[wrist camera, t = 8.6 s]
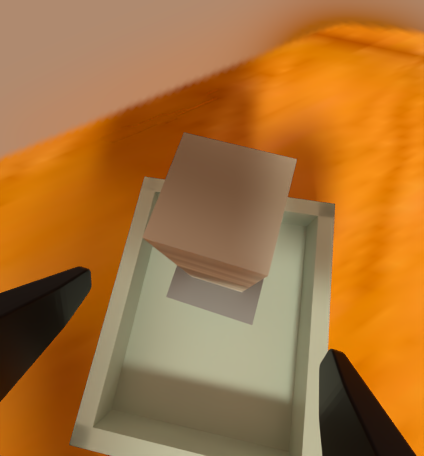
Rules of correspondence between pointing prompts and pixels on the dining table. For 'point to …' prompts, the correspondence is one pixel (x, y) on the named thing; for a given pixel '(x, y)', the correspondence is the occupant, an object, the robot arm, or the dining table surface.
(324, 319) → the tray
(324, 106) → the dining table surface
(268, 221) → the square pillar on base
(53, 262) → the dining table surface
